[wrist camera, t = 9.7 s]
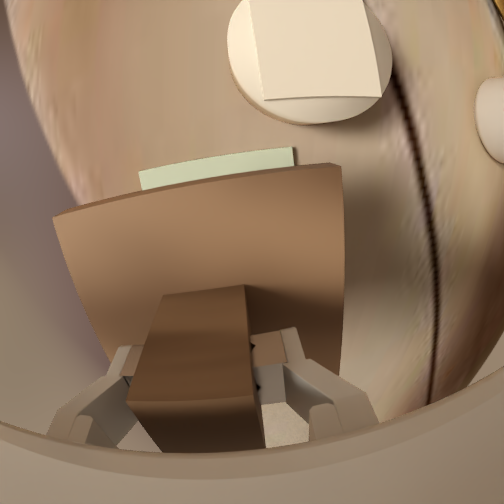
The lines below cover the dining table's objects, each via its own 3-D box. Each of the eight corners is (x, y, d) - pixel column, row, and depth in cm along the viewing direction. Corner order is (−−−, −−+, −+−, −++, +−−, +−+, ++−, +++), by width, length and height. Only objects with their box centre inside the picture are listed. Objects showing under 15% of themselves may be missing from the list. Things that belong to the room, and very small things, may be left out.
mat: (302, 283, 24) (303, 286, 23) (172, 300, 24) (171, 303, 23) (290, 146, 20) (291, 146, 19) (140, 170, 20) (138, 171, 19)
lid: (331, 371, 14) (367, 470, 8) (141, 392, 14) (118, 486, 8) (329, 162, 10) (436, 201, 4) (67, 209, 10) (-39, 277, 4)
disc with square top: (370, 123, 19) (405, 121, 14) (238, 131, 19) (239, 129, 14) (350, 8, 15) (377, -16, 11) (221, 10, 15) (218, -22, 11)
